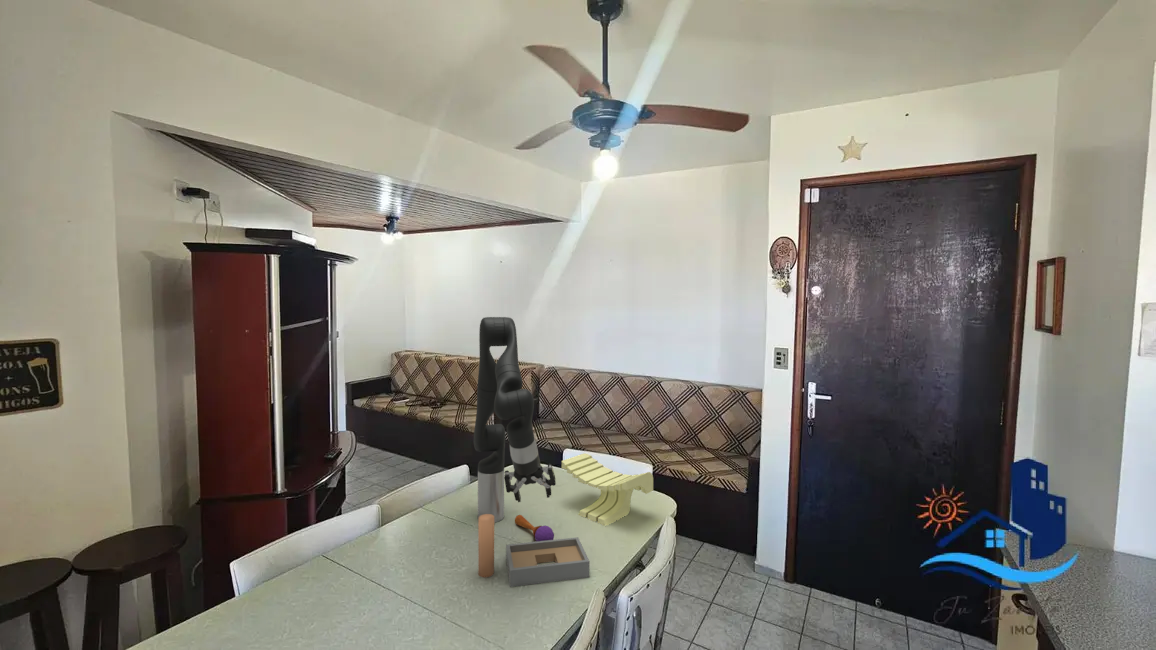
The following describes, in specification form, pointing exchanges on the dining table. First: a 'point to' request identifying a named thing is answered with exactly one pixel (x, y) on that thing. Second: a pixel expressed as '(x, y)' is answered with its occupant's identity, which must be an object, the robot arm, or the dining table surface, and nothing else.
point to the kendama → (536, 529)
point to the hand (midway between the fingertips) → (533, 497)
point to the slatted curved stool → (607, 488)
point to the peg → (486, 545)
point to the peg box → (562, 551)
